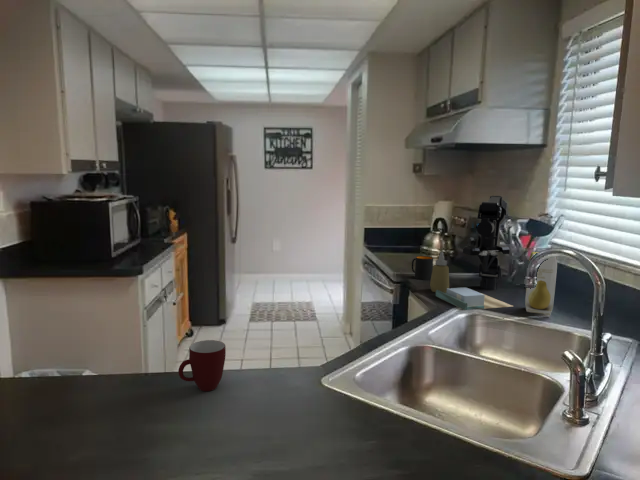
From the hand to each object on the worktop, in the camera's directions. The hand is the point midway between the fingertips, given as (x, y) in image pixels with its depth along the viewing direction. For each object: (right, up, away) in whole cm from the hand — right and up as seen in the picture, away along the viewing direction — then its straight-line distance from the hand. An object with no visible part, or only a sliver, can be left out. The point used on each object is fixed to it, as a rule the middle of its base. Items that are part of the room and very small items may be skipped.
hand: (484, 271), depth 190 cm
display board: (-6, -13, -5) cm, 15 cm away
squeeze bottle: (-16, -11, +9) cm, 21 cm away
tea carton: (-10, -12, -7) cm, 17 cm away
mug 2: (-18, -6, +40) cm, 44 cm away
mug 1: (-94, -22, -83) cm, 127 cm away
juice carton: (+14, -15, -16) cm, 26 cm away
